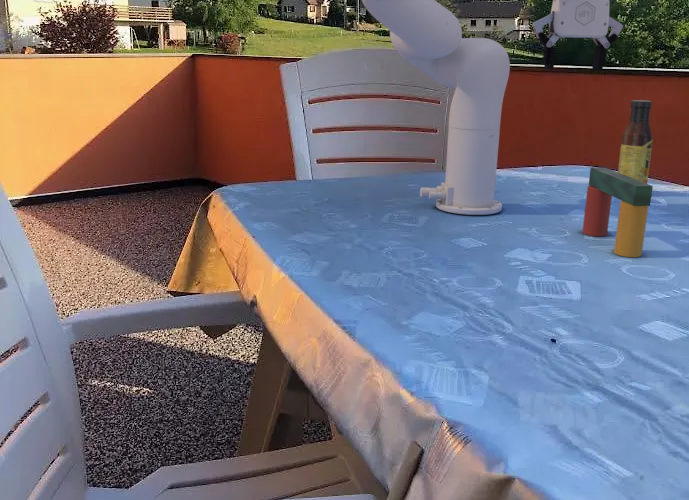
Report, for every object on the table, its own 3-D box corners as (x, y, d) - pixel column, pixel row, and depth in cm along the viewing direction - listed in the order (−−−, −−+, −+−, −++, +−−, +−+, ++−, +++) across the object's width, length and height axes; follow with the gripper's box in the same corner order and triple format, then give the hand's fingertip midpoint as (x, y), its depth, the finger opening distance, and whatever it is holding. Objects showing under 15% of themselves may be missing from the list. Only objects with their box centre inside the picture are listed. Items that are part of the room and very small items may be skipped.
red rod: (588, 236, 118) (593, 189, 116) (578, 230, 122) (583, 184, 120) (611, 236, 119) (617, 189, 117) (600, 230, 123) (606, 185, 120)
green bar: (650, 205, 105) (652, 186, 104) (633, 205, 105) (635, 185, 104) (603, 185, 120) (605, 167, 119) (588, 185, 120) (590, 167, 119)
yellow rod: (621, 257, 107) (628, 205, 105) (609, 250, 111) (615, 200, 109) (646, 257, 107) (653, 205, 105) (633, 250, 111) (640, 200, 109)
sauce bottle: (648, 196, 151) (661, 102, 146) (617, 195, 153) (629, 101, 147) (642, 190, 158) (654, 99, 152) (612, 189, 159) (624, 99, 153)
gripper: (545, -29, 127) (536, 69, 132) (637, -27, 129) (625, 70, 134) (531, -25, 134) (522, 68, 139) (618, -23, 136) (607, 69, 141)
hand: (573, 69), depth 136 cm, fingers open, 9 cm apart
